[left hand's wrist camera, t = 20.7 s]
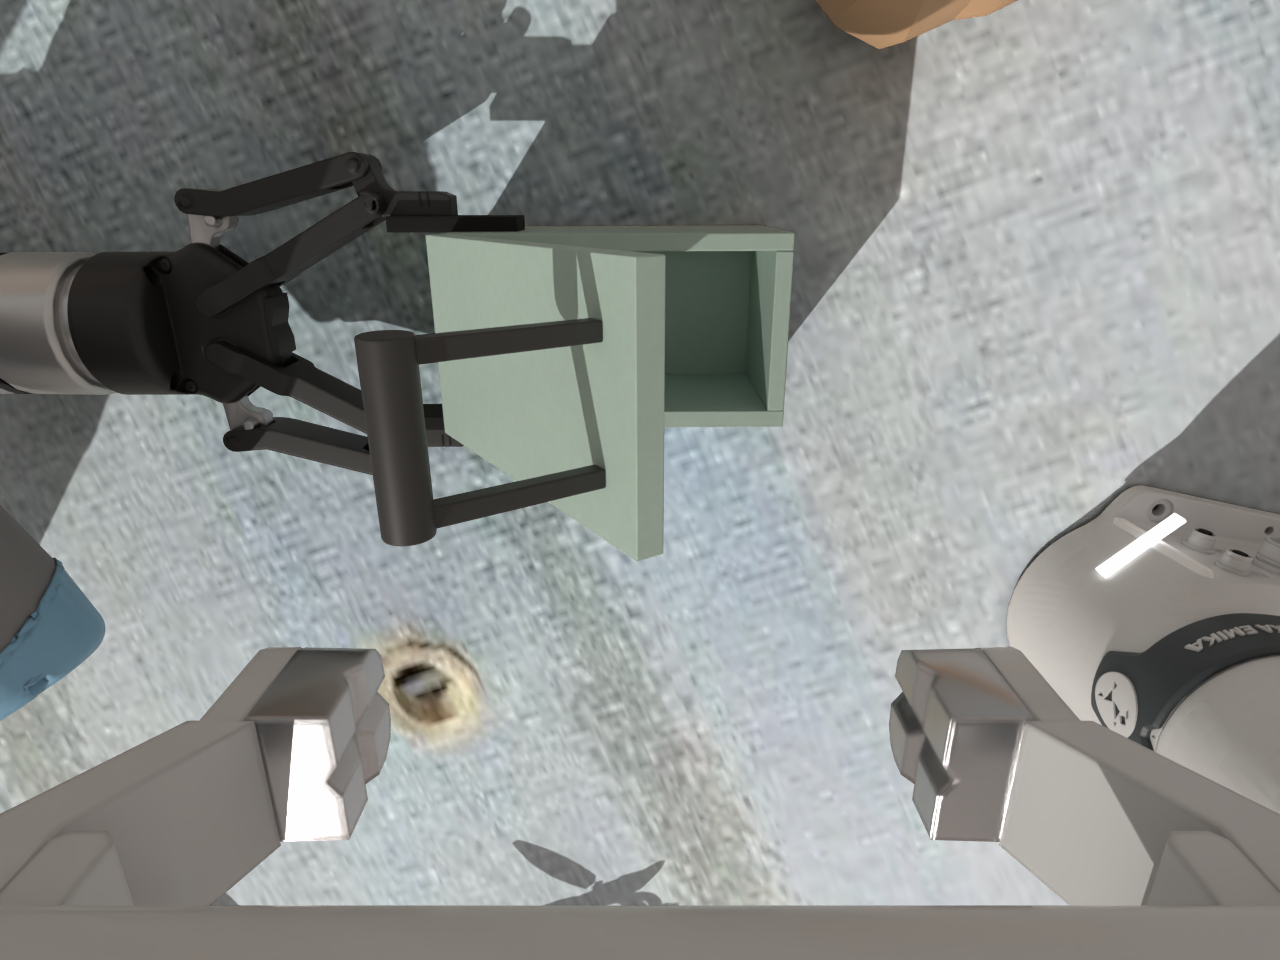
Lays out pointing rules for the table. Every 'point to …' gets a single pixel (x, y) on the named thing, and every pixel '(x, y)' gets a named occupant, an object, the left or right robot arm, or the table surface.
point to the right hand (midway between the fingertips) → (526, 324)
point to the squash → (901, 16)
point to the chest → (709, 314)
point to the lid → (528, 389)
